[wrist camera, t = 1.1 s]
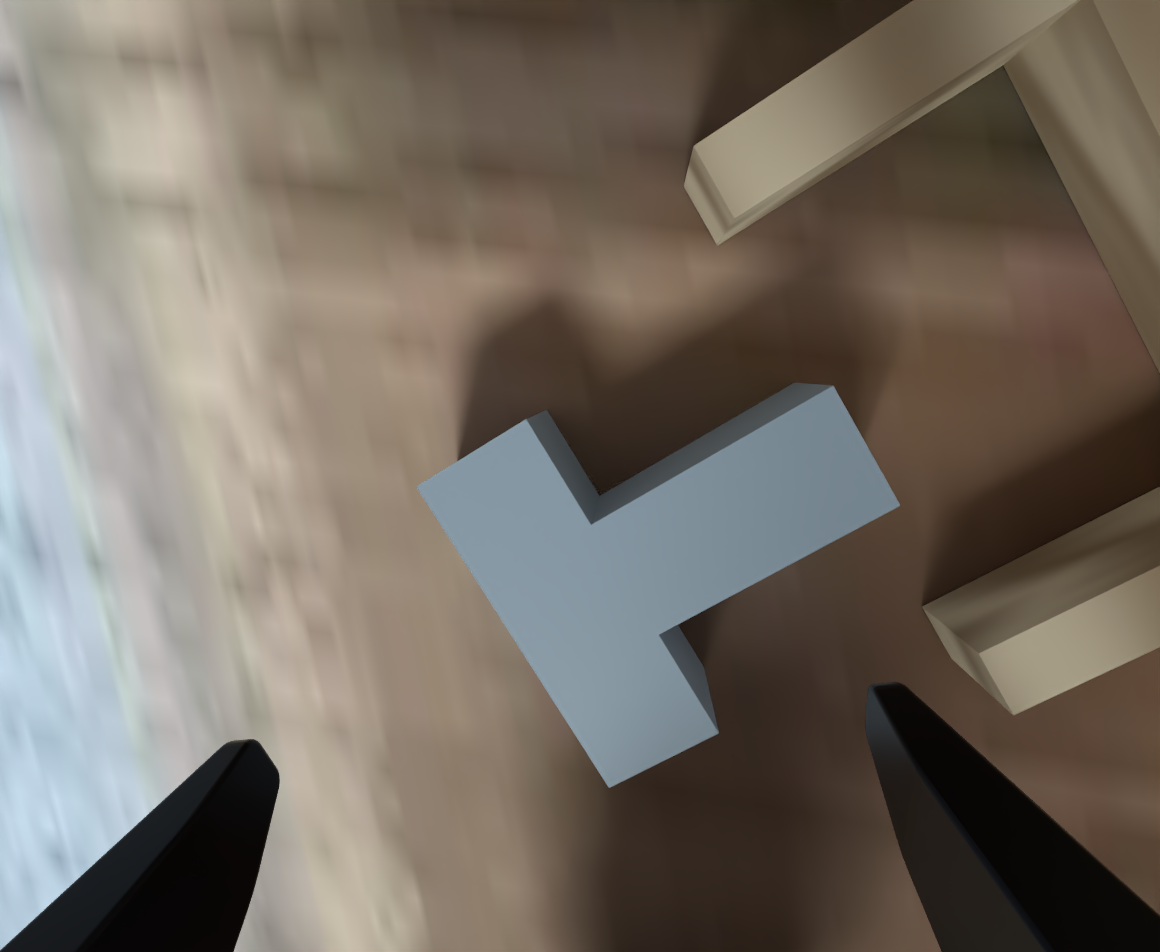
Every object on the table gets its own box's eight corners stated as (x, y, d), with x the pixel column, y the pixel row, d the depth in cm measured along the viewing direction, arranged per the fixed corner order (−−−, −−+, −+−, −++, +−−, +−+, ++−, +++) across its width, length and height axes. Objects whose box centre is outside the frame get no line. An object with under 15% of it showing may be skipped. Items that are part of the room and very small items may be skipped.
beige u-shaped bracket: (951, 658, 21) (1013, 715, 17) (683, 186, 19) (693, 145, 16) (1302, 486, 19) (1448, 512, 16) (1039, -47, 18) (1137, -149, 14)
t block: (613, 714, 22) (609, 788, 18) (456, 465, 21) (416, 486, 17) (898, 566, 21) (960, 613, 17) (742, 289, 20) (768, 269, 16)
